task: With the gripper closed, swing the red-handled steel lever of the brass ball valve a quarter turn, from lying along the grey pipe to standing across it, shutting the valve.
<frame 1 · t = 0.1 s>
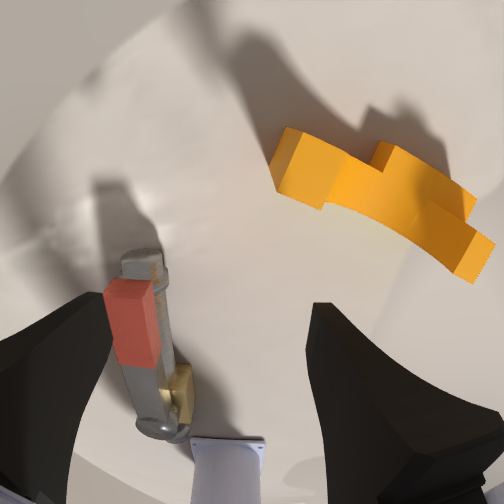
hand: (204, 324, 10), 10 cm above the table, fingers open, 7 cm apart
valve: (168, 380, 25), on the table
lever: (145, 375, 19), point 4 cm above the table, hinge at 0.0°
pipe clamp: (369, 173, 18), on the table
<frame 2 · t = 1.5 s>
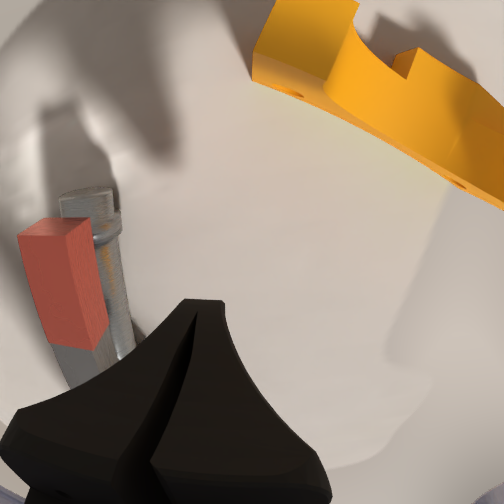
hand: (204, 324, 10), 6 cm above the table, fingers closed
valve: (133, 374, 19), on the table
lever: (89, 362, 13), point 4 cm above the table, hinge at 0.0°
pipe clamp: (386, 96, 13), on the table
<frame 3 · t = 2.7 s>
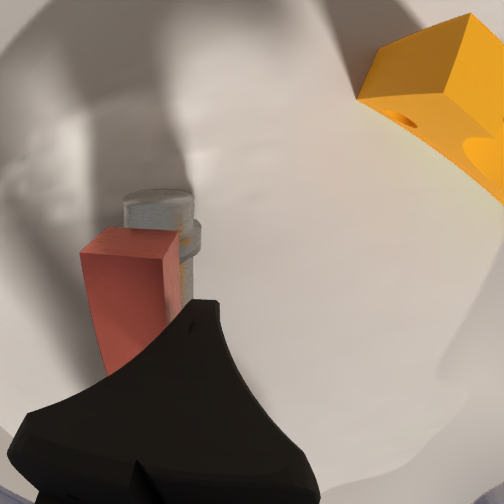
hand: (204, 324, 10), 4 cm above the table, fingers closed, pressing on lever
valve: (180, 397, 17), on the table
lever: (153, 398, 11), point 4 cm above the table, hinge at 0.0°, touching gripper
pipe clamp: (472, 129, 11), on the table
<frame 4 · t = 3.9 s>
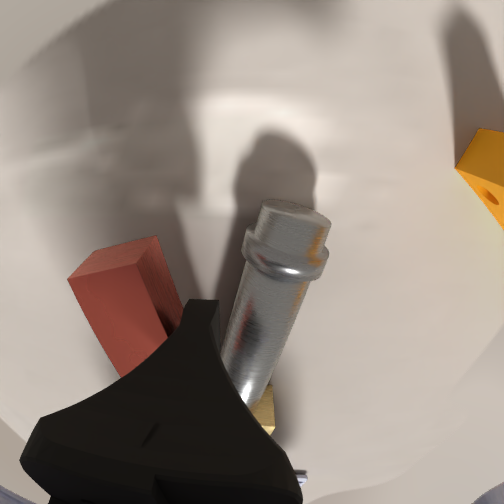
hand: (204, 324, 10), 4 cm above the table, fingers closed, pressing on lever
valve: (226, 402, 18), on the table
lever: (185, 406, 11), point 4 cm above the table, hinge at 27.2°, touching gripper
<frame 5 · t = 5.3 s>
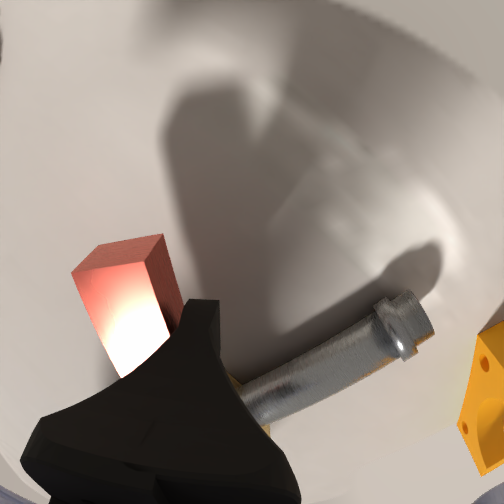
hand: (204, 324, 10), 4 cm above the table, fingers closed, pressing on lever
valve: (217, 401, 18), on the table
lever: (180, 404, 11), point 4 cm above the table, hinge at 62.4°, touching gripper
pipe clamp: (486, 374, 18), on the table
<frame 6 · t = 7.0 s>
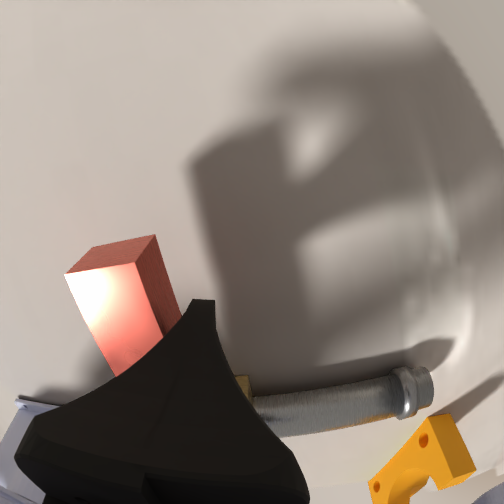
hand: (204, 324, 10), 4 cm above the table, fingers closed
valve: (217, 401, 18), on the table
lever: (177, 405, 11), point 4 cm above the table, hinge at 92.1°, touching gripper
pipe clamp: (412, 449, 22), on the table
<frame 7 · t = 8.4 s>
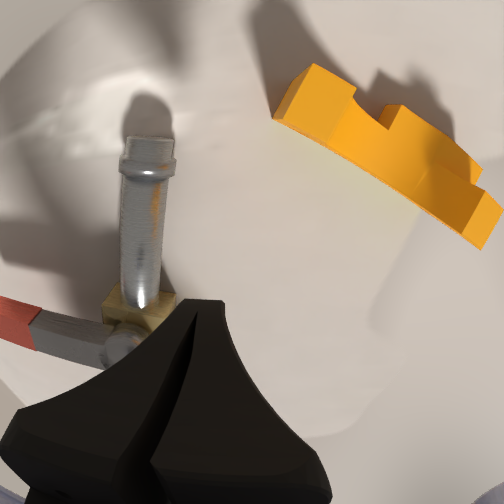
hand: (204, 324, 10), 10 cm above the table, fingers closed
valve: (145, 313, 22), on the table
lever: (58, 335, 18), point 4 cm above the table, hinge at 92.3°
pipe clamp: (374, 137, 17), on the table
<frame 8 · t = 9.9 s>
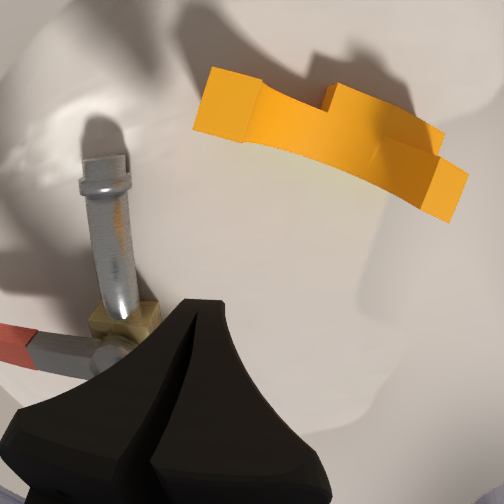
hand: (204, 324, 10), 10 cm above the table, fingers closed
valve: (134, 323, 22), on the table
lever: (54, 353, 18), point 4 cm above the table, hinge at 92.3°
pipe clamp: (322, 122, 17), on the table
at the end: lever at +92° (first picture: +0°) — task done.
